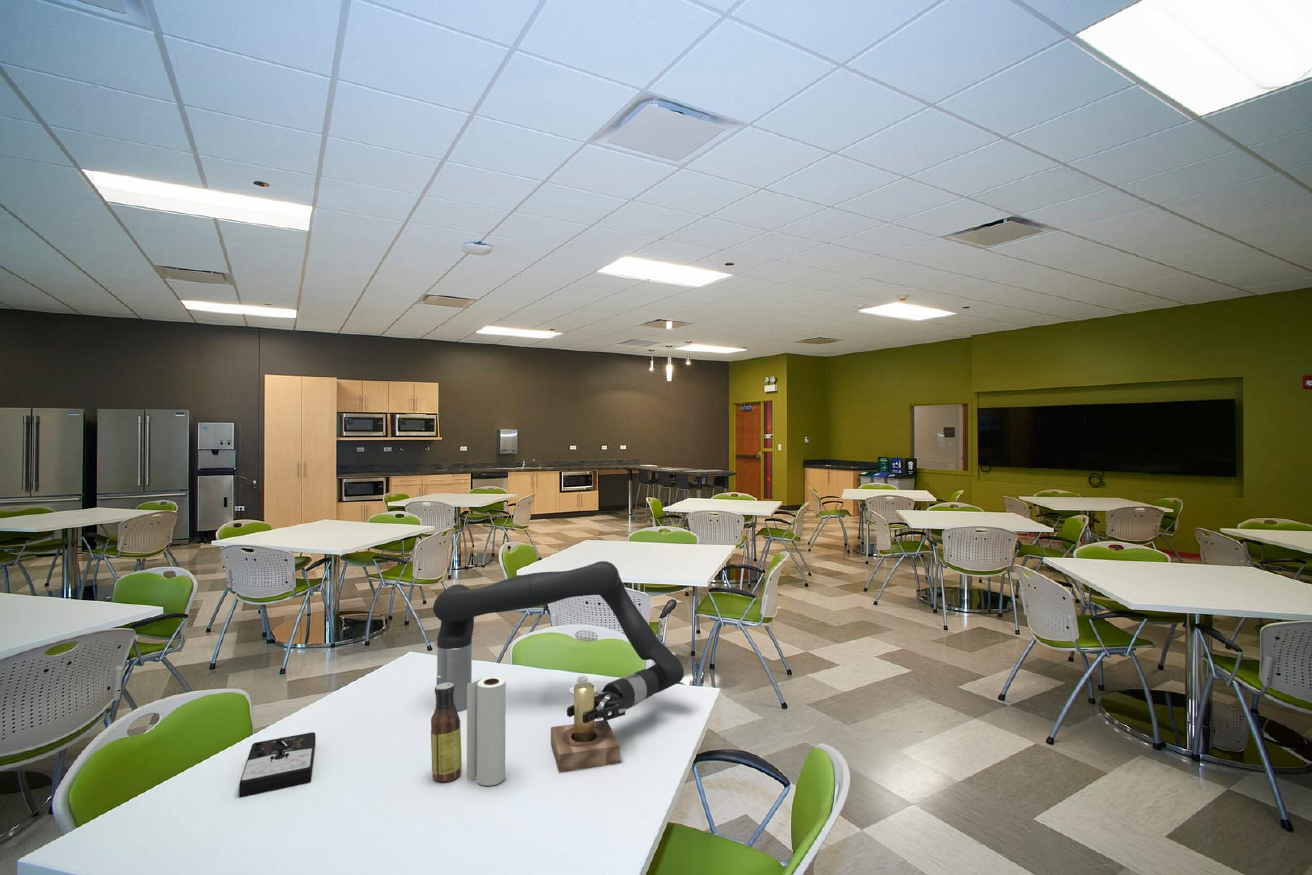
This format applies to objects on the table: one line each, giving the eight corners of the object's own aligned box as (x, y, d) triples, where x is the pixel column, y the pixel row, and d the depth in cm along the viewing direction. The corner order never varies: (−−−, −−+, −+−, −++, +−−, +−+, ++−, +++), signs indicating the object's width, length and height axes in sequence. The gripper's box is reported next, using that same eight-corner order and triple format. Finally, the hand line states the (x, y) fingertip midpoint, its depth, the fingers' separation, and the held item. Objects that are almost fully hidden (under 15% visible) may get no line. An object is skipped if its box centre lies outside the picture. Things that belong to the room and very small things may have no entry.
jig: (558, 772, 137) (558, 754, 137) (550, 743, 150) (550, 726, 150) (619, 762, 141) (619, 745, 141) (606, 735, 154) (606, 719, 154)
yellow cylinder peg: (575, 752, 143) (575, 691, 143) (572, 742, 147) (572, 683, 147) (596, 748, 144) (596, 689, 144) (592, 739, 149) (592, 681, 149)
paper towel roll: (511, 775, 136) (511, 678, 136) (492, 789, 130) (493, 688, 130) (485, 768, 139) (485, 673, 139) (466, 781, 133) (466, 682, 133)
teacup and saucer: (594, 698, 178) (594, 683, 178) (566, 697, 179) (566, 683, 179) (597, 686, 187) (597, 672, 187) (571, 686, 187) (571, 672, 187)
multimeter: (315, 745, 150) (315, 725, 150) (311, 784, 133) (311, 761, 133) (251, 757, 144) (252, 736, 144) (238, 800, 127) (238, 775, 127)
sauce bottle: (467, 771, 137) (467, 682, 138) (449, 785, 132) (449, 692, 132) (443, 766, 140) (443, 678, 140) (424, 780, 134) (424, 688, 134)
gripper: (605, 671, 161) (555, 691, 148) (646, 685, 152) (597, 708, 139) (605, 699, 161) (555, 722, 148) (646, 715, 152) (597, 741, 139)
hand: (576, 715), depth 144 cm, fingers closed on yellow cylinder peg, 4 cm apart
